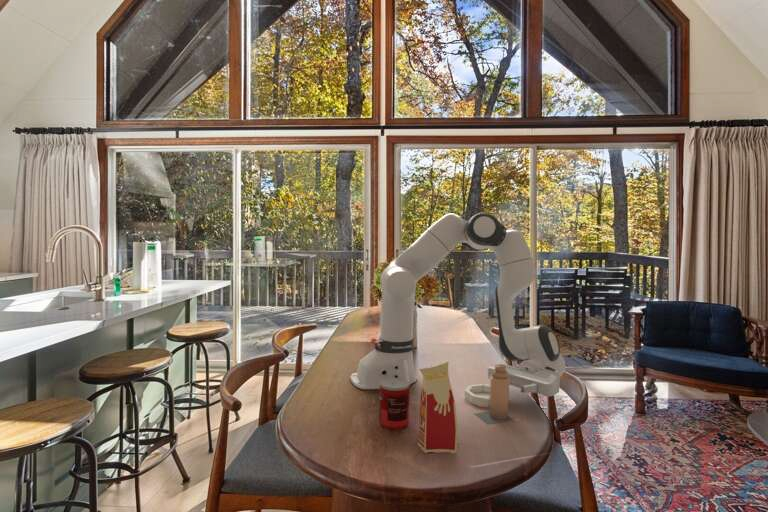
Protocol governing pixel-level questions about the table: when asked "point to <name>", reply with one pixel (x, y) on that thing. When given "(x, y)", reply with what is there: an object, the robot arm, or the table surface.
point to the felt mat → (488, 420)
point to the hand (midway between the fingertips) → (507, 385)
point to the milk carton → (437, 411)
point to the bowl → (478, 394)
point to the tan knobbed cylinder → (499, 393)
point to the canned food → (394, 403)
